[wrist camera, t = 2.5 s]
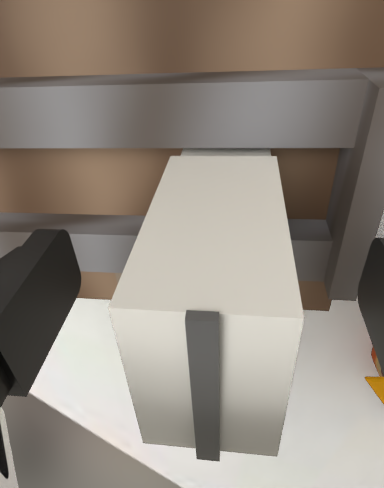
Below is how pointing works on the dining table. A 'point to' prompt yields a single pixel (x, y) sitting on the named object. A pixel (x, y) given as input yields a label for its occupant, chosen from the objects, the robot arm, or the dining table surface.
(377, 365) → the hamburger
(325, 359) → the dining table surface
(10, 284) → the robot arm
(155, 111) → the fader console
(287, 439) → the dining table surface
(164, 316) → the fader tab
